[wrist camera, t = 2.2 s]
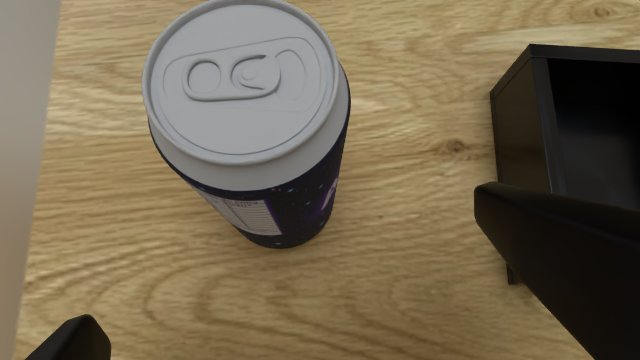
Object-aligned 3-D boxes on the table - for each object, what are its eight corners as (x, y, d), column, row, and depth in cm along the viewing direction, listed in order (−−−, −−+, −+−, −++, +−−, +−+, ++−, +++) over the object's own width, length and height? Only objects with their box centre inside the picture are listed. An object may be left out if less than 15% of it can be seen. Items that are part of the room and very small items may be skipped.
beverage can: (337, 247, 20) (367, 171, 8) (230, 254, 19) (112, 188, 8) (328, 149, 21) (344, -23, 10) (231, 156, 21) (134, -14, 10)
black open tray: (731, 299, 19) (851, 298, 15) (507, 284, 19) (563, 279, 15) (676, 103, 23) (760, 57, 18) (489, 91, 23) (529, 43, 19)
